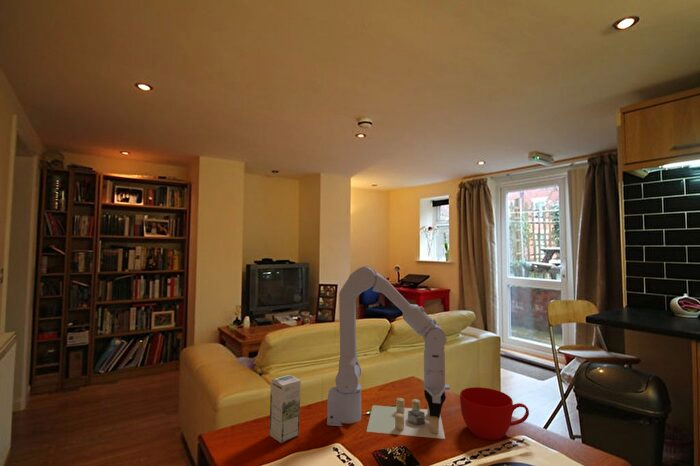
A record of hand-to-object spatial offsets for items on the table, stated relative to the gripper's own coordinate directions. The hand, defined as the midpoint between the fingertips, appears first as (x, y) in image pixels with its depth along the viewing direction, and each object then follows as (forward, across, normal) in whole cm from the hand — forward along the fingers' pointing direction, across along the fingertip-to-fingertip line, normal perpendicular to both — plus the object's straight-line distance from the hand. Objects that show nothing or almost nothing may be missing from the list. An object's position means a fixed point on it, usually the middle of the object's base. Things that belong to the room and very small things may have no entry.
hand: (434, 419), depth 95 cm
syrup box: (+2, -12, +39) cm, 41 cm away
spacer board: (+2, 0, +8) cm, 8 cm away
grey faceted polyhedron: (+1, 0, +5) cm, 5 cm away
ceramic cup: (+2, -2, -15) cm, 15 cm away
